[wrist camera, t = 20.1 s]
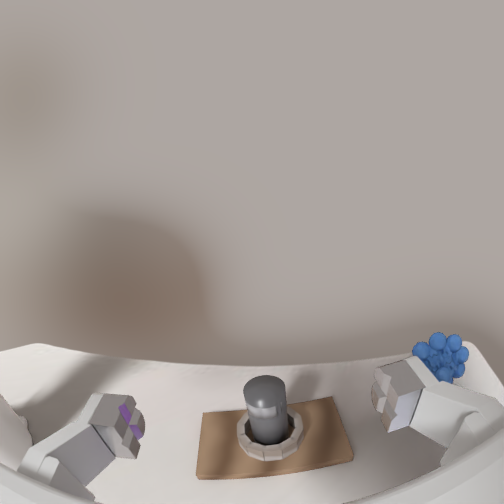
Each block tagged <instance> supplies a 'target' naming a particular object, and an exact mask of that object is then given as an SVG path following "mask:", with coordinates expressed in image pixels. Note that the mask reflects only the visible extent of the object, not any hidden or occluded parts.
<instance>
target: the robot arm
mask: <svg viewBox="0 0 504 504" xmlns="http://www.w3.org/2000/svg"><path fill="white" fill-rule="evenodd" d="M374 378H375V379H376V382H375V383H374V385H373V386H372V392H371V394H372V401H373V405H374V407H375V409H376V411H378V412H380V413H382V417H381V421H382V423H383V425H384V427H385V428H386V430H387V432H392V431H395V430H398V429H401V428H404V427H406V426H409V425H410V427H411V428H413V429H415V430H416V431H418V432H420V433H421V434H423V435H425V436H426V437H428V438H430V439H432V440H433V441H435V442H437V443H439V444H440V445H442V446H444V447H446V448H447V450H446V452H445V454H444V455H443V457H442V458H441V460H440V464H441V467H439V468H437V469H435V470H433V471H431V472H429V473H427V474H425V475H423V476H420V477H418V478H416V479H414V480H411V481H409V482H406V483H404V484H402V485H399V486H396V487H394V488H391V489H388V490H386V491H383V492H380V493H377V494H374V495H371V496H368V497H365V498H361V499H358V500H354V501H351V502H347V503H343V504H504V407H503V406H502V405H501V404H500V403H499V401H498V400H497V399H496V398H493V397H490V396H487V395H484V394H481V393H477V392H474V391H471V390H468V389H465V388H462V387H459V386H456V385H453V384H451V383H448V382H445V381H441V382H439V381H438V380H437V379H436V377H435V376H434V375H433V374H432V373H431V372H430V370H429V369H428V368H427V367H426V366H425V364H424V363H423V362H422V361H421V360H420V359H419V358H418V357H417V356H412V357H409V358H406V359H403V360H400V361H397V362H394V363H390V364H387V365H384V366H380V367H377V368H376V370H375V373H374ZM135 406H136V402H135V400H134V398H133V397H132V396H129V395H116V394H103V393H93V394H92V395H91V396H90V398H89V400H88V402H87V403H86V405H85V407H84V409H83V411H82V412H81V414H80V416H79V418H78V420H77V421H76V422H71V423H70V424H68V425H67V426H65V427H63V428H62V429H60V430H59V431H57V432H55V433H54V434H52V435H50V436H49V437H47V438H45V439H44V440H42V441H40V442H39V443H37V444H35V445H34V446H33V443H32V437H31V435H30V433H29V431H28V429H27V427H28V423H27V420H26V419H25V417H23V416H18V415H17V414H16V413H15V412H14V410H13V409H12V408H11V407H10V405H9V404H8V403H7V401H6V400H5V399H4V397H3V396H2V395H1V394H0V504H102V503H99V502H95V501H94V500H95V496H94V495H93V494H92V493H91V492H90V491H89V490H88V489H87V488H86V487H85V486H87V485H88V484H89V483H90V482H91V481H92V480H93V479H94V478H95V477H96V476H97V475H98V474H99V473H100V472H102V471H103V470H104V469H105V468H106V467H107V466H108V465H109V464H110V463H111V462H112V461H113V460H114V459H115V457H120V458H129V459H137V455H138V452H139V449H140V446H141V445H140V443H139V441H138V440H139V439H140V438H142V437H143V435H144V432H145V421H144V417H143V415H142V413H141V412H140V411H139V410H138V409H136V408H135Z"/></svg>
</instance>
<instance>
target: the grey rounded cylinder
mask: <svg viewBox="0 0 504 504" xmlns="http://www.w3.org/2000/svg"><path fill="white" fill-rule="evenodd" d="M243 392H244V397H245V401H246V406H247V411H248V415H249V420H250V425H251V429H252V434H253V438H254V442H255V443H257V444H260V445H263V446H268V445H276V444H280V443H282V442H283V441H285V440H287V439H288V438H289V431H288V417H287V404H286V392H285V384H284V382H283V381H282V380H281V379H280V378H278V377H275V376H270V375H263V376H258V377H255V378H253V379H251V380H250V381H248V382H247V383H246V385H245V386H244V390H243Z"/></svg>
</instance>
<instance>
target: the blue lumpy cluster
mask: <svg viewBox="0 0 504 504" xmlns="http://www.w3.org/2000/svg"><path fill="white" fill-rule="evenodd" d="M412 353H413V356H417V357H418V358H419V359H420V360H421V361H422V362H423V363H424V364H425V366H426V367H427V368H428V369H429V370H430V372H431V373H432V374H433V375H434V376H435V377H436V379H437V380H438V381H439V382H441V381H445V382H448V383H451V384H452V383H453V377H454V378H460V377H461V376H462V375H463V374H464V371H465V365H464V364H463V363H464V362H466V361H467V359H468V356H469V351H468V349H467V348H466V347H464V346H462V340H461V338H460V336H459V335H456V334H453V335H450V336H449V337H448V338H447V339H446V336H445V335H444V334H443V333H440V332H437V333H434V334H433V335H432V336H431V337H430V339H429V345H428V344H427V343H425V342H419V343H417V344H416V345H415V346H414V347H413V350H412Z"/></svg>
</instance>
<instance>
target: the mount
mask: <svg viewBox="0 0 504 504" xmlns="http://www.w3.org/2000/svg"><path fill="white" fill-rule="evenodd" d="M287 417H288V431H289V438H288V439H287V440H285V441H283V442H282V443H280V444H276V445H268V446H263V445H260V444H257V443H255V442H254V438H253V434H252V429H251V425H250V420H249V415H248V411H247V410H239V411H226V412H209V413H203V417H202V425H201V433H200V442H199V451H198V459H197V468H196V476H197V477H198V479H201V480H217V479H243V478H256V477H267V476H276V475H283V474H290V473H297V472H303V471H308V470H313V469H319V468H323V467H328V466H332V465H337V464H341V463H345V462H349V461H352V460H353V456H354V455H353V452H352V449H351V446H350V444H349V441H348V438H347V435H346V433H345V430H344V427H343V425H342V422H341V419H340V417H339V414H338V411H337V409H336V406H335V403H334V401H333V398H332V397H327V398H322V399H317V400H312V401H307V402H301V403H295V404H289V405H287Z"/></svg>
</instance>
